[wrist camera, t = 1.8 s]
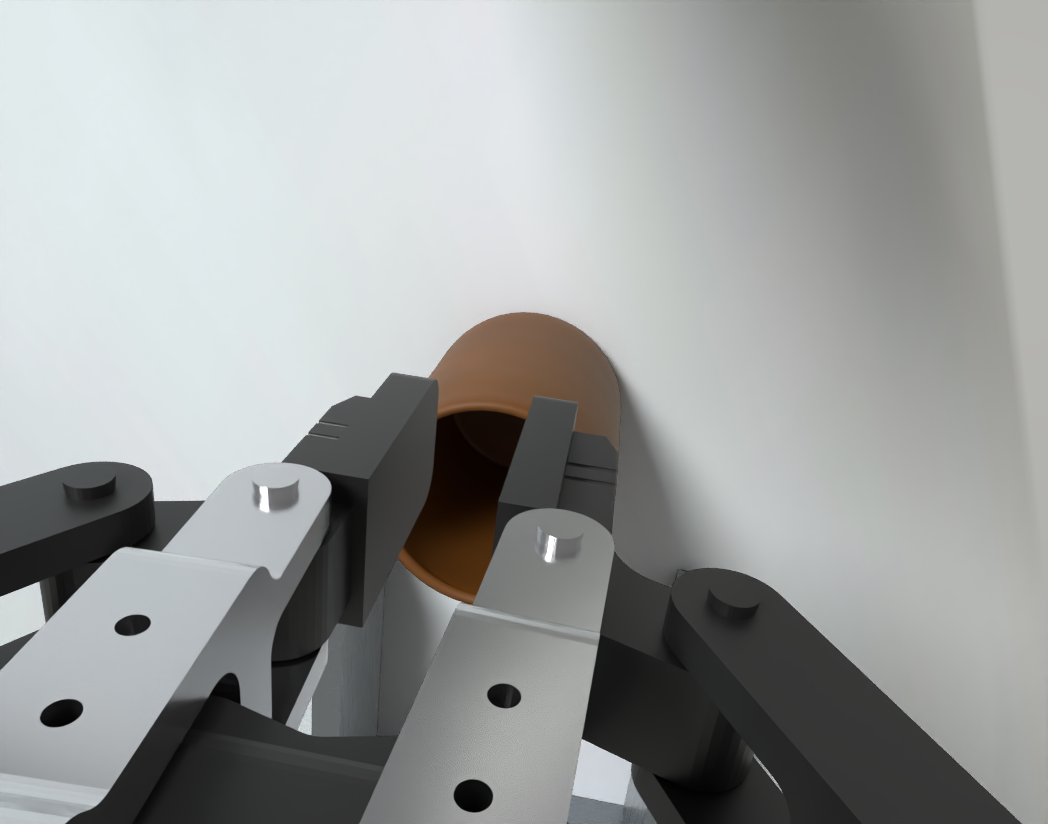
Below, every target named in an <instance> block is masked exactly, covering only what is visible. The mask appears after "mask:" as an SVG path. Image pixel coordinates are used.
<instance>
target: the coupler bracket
mask: <svg viewBox="0 0 1048 824" xmlns="http://www.w3.org/2000/svg"><path fill="white" fill-rule="evenodd" d="M686 572H689V571H683V570H678V572H677V576H676V579H677V578H678V577H679V576H681V575H682V574H684V573H686ZM384 592H385V584H384V586H383V588H382V590H381V592H380V594H379V596H378V598H377V600H376V602H375V604H374V606H373V608H372V610H371V612H370V614H369V616H368V618H367V620H366V622H365V624H364V626H363V628H360V627H355V626H350V625H344V624H339V623H337V624H336V626H335V628H334V630H333V632H332V634H331V635H330V637H329V638H328V660H327V663H326V666H325V669H324V671H323V673H322V675H321V678H320V680H319V682H318V684H317V687H316V689H315V691H314V693H313V696H312V736H319V737H346V736H377V723H378V705H379V686H380V667H381V649H382V630H383V611H384ZM567 822H568V823H569V824H657V823H656V821H655V819H654V818H653V816H652V814H651V813H650V811H649V810H648V808H647V806H646V805H645V803H644V802H643V800H642V798H641V797H640V795H639V793H638V792H637V790H636V788H635V786H634V783H633V780H632V774H631V777H630V782H629V786H628V790H627V795H626V799H625V804H624V806H622V805H617V804H612V803H607V802H602V801H597V800H592V799H587V798H582V797H577V796H571V802H570V808H569V813H568V819H567Z"/></svg>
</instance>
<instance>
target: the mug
mask: <svg viewBox="0 0 1048 824" xmlns="http://www.w3.org/2000/svg"><path fill="white" fill-rule="evenodd" d="M429 378H430V379H436V380H437V381H438V386H439V397H438V411H437V424H436V437H435V450H434V463H433V472H432V479H431V484H430V488H429V492H428V496H427V499H426V502H425V504H424V506H423V508H422V510H421V512H420V514H419V516H418V518H417V520H416V522H415V524H414V526H413V528H412V530H411V532H410V534H409V536H408V538H407V540H406V542H405V544H404V546H403V548H402V550H401V552H400V554H399V556H398V559H399V560H400V561H401V562H402V564H403V565H404V566H405V567H406V568H407V569H408V570H409V571H410V572H411V573H412V574H413V575H414V576H416V577H417V578H418V579H419V580H421V581H422V582H423V583H425V584H426V585H428V586H429V587H431V588H433V589H434V590H436V591H438V592H439V593H441V594H444V595H446V596H448V597H450V598H453V599H455V600H458V601H461V602H464V603H467V604H472V605H473V602H474V600H475V598H476V595H477V593H478V590H479V588H480V586H481V583H482V581H483V578H484V576H485V574H486V571H487V569H488V567H489V564H490V562H491V559H492V551H493V542H494V533H495V525H496V516H497V507H498V501H499V498H500V495H501V492H502V489H503V486H504V483H505V480H506V477H507V474H508V471H509V468H510V465H511V462H512V459H513V456H514V453H515V450H516V447H517V445H518V442H519V439H520V436H521V433H522V430H523V427H524V424H525V421H526V418H527V415H528V412H529V409H530V406H531V403H532V400H533V397H534V395H536V396H542V397H548V398H555V399H561V400H567V401H573V402H578V410H577V417H576V423H575V430H574V431H575V432H581V433H587V434H593V435H599V436H606V437H607V439H608V440H609V441H610V443H611V444H612V445H613V447H614V448H615V450H616V451H617V452H618V455H619V439H620V419H621V400H620V391H619V386H618V382H617V379H616V376H615V373H614V371H613V369H612V367H611V365H610V363H609V361H608V359H607V357H606V356H605V355H604V353H603V352H602V350H601V349H600V348H599V347H598V345H597V344H596V343H595V342H594V341H593V340H592V339H591V338H590V337H589V336H587V335H586V334H585V333H584V332H582V331H581V330H579V329H578V328H576V327H575V326H573V325H571V324H569V323H567V322H565V321H563V320H561V319H558V318H555V317H552V316H549V315H544V314H539V313H527V312H520V313H510V314H505V315H500V316H497V317H494V318H491V319H488V320H486V321H484V322H482V323H480V324H478V325H476V326H474V327H473V328H471V329H470V330H468V331H467V332H466V333H464V334H463V335H462V336H461V337H460V338H459V339H458V340H457V341H456V342H455V343H454V344H453V345H452V347H451V348H450V349H449V350H448V351H447V353H446V354H445V355H444V357H443V358H442V360H441V361H440V363H439V364H438V366H437V367H436V368H435V370H434V371H433V372H432V374H431V375H430V376H429ZM617 468H618V461H617ZM616 481H617V471H616ZM615 494H616V485H615ZM614 501H615V498H614Z"/></svg>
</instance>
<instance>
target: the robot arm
mask: <svg viewBox="0 0 1048 824" xmlns="http://www.w3.org/2000/svg"><path fill="white" fill-rule="evenodd" d="M438 397H439V386H438V381H437V380H436V379H430V378H424V377H418V376H411V375H405V374H399V373H391V374H390V375H389V377H388V378H387V379H386V380H385V382H384V383H383V384H382V385H381V386H380V388H379V389H378V390H377V391H376V393H375V394H374V395H373V396H372V398H367V397H361V396H354V397H352V398H349V399H347V400H345V401H343V402H340V403H338V404H336V405H334V406H332V407H331V408H330V409H329V410H328V411H327V412H326V413H325V415H324V416H323V417H322V418H321V419H320V420H319V424H318V423H316V425H315V426H314V427H313V428H312V429H311V430H310V431H309V434H308V435H306V436H305V437H304V438H303V439H302V440H301V441H300V442H299V443H298V445H297V446H296V447H295V448H294V449H293V450H292V451H291V452H290V453H289V455H288V456H287V457H286V458H285V459H284V460H283V461H282V462H281V463H265V464H258V465H253V466H249V467H246V468H243V469H240V470H238V471H236V472H234V473H232V474H231V475H229V476H228V477H226V478H225V479H224V480H223V481H222V482H221V484H220V485H219V486H218V487H217V488H216V489H215V490H214V492H213V493H212V494H211V495H210V496H209V497H208V499H207V500H206V501H154V495H153V483H152V479H151V477H150V475H149V474H148V473H147V472H145V471H144V470H142V469H140V468H138V467H136V466H133V465H129V464H125V463H118V462H89V463H81V464H76V465H71V466H67V467H63V468H60V469H57V470H53V471H50V472H47V473H43V474H40V475H37V476H33V477H30V478H27V479H23V480H20V481H16V482H13V483H10V484H6V485H3V486H0V597H1V596H3V595H6V594H8V593H11V592H13V591H16V590H19V589H21V588H24V587H26V586H29V585H31V584H34V583H37V582H40V589H41V595H42V602H43V608H44V615H45V621H46V624H45V625H44V626H43V627H42V628H41V629H40V630H37V631H35V632H33V633H30V634H28V635H26V636H23V637H21V638H19V639H16V640H14V641H12V642H9V643H7V644H5V645H2V646H0V824H569V823H568V822H567V819H568V813H569V808H570V802H571V796H572V791H573V785H574V779H575V774H576V768H577V762H578V756H579V751H580V745H581V739H583V740H586V741H588V742H590V743H592V744H594V745H596V746H598V747H600V748H602V749H604V750H606V751H608V752H610V753H612V754H614V755H617V756H619V757H621V758H623V759H625V760H627V761H629V762H631V763H632V766H631V774H632V780H633V783H634V786H635V788H636V790H637V792H638V793H639V795H640V797H641V798H642V800H643V802H644V803H645V805H646V806H647V808H648V810H649V811H650V813H651V814H652V816H653V818H654V819H655V821H656V823H657V824H1022V823H1021V822H1019V821H1018V820H1017V819H1016V818H1015V817H1014V816H1013V815H1012V814H1011V813H1010V812H1009V811H1008V810H1007V809H1006V808H1005V807H1004V806H1003V805H1001V804H1000V803H999V802H998V801H997V800H996V799H995V798H994V797H993V796H992V795H991V794H990V793H989V792H988V791H987V790H986V789H985V788H984V787H983V786H981V785H980V784H979V783H978V782H977V781H976V780H975V779H974V778H973V777H972V776H971V775H970V774H969V773H968V772H967V771H966V770H965V769H964V768H962V767H961V766H960V765H959V764H958V763H957V762H956V761H955V760H954V759H953V758H952V757H951V756H950V755H949V754H948V753H947V752H946V751H945V750H943V749H942V748H941V747H940V746H939V745H938V744H937V743H936V742H935V741H934V740H933V739H932V738H931V737H930V736H929V735H928V734H927V733H926V732H924V731H923V730H922V729H921V728H920V727H919V726H918V725H917V724H916V723H915V722H914V721H913V720H912V719H911V718H910V717H909V716H908V715H907V714H905V713H904V712H903V711H902V710H901V709H900V708H899V707H898V706H897V705H896V704H895V703H894V702H893V701H892V700H891V699H890V698H889V697H888V696H886V695H885V694H884V693H883V692H882V691H881V690H880V689H879V688H878V687H877V686H876V685H875V684H874V683H873V682H872V681H871V680H870V679H869V678H867V677H866V676H865V675H864V674H863V673H862V672H861V671H860V670H859V669H858V668H857V667H856V666H855V665H854V664H853V663H852V662H851V661H850V660H848V659H847V658H846V657H845V656H844V655H843V654H842V653H841V652H840V651H839V650H838V649H837V648H836V647H835V646H834V645H833V644H832V643H831V642H829V641H828V640H827V639H826V638H825V637H824V636H823V635H822V634H821V633H820V632H819V631H818V630H817V629H816V628H815V627H814V626H813V625H812V624H810V623H809V622H808V621H807V620H806V619H805V618H804V617H803V616H802V615H801V614H800V613H799V612H798V611H797V610H796V609H795V608H794V607H793V606H791V605H790V604H789V603H788V602H787V601H786V600H785V599H784V598H783V597H782V596H781V595H780V594H779V593H777V592H776V591H775V590H774V589H772V588H771V587H769V586H768V585H766V584H765V583H763V582H761V581H759V580H757V579H755V578H753V577H750V576H748V575H746V574H742V573H739V572H736V571H731V570H727V569H719V568H703V569H696V570H692V571H689V572H686V573H684V574H682V575H681V576H679V577H678V578H677V579H676V580H675V582H674V583H673V586H672V588H670V587H667V586H664V585H662V584H659V583H657V582H654V581H652V580H650V579H647V578H645V577H643V576H642V575H640V574H638V573H636V572H635V571H633V570H632V569H631V568H629V567H628V566H627V565H626V564H625V563H623V562H622V561H621V559H620V558H619V557H618V556H617V554H616V553H615V551H614V549H615V543H614V540H613V537H612V523H613V511H614V498H615V485H616V471H617V461H618V452H617V451H616V450H615V448H614V447H613V445H612V444H611V443H610V441H609V440H608V439H607V437H606V436H599V435H593V434H587V433H581V432H575V431H574V430H575V423H576V417H577V410H578V402H573V401H567V400H561V399H555V398H548V397H542V396H536V395H534V397H533V400H532V403H531V406H530V409H529V412H528V415H527V418H526V421H525V424H524V427H523V430H522V433H521V436H520V439H519V442H518V445H517V447H516V450H515V453H514V456H513V459H512V462H511V465H510V468H509V471H508V474H507V477H506V480H505V483H504V486H503V489H502V492H501V495H500V498H499V501H498V507H497V516H496V525H495V533H494V542H493V551H492V559H491V562H490V564H489V567H488V569H487V571H486V574H485V576H484V578H483V581H482V583H481V586H480V588H479V590H478V593H477V595H476V598H475V600H474V602H473V605H472V604H467V603H462V602H461V603H460V604H459V605H458V606H457V608H456V609H455V611H454V613H453V615H452V618H451V620H450V622H449V624H448V627H447V629H446V631H445V633H444V636H443V638H442V640H441V642H440V644H439V647H438V649H437V651H436V653H435V656H434V658H433V660H432V662H431V665H430V667H429V669H428V671H427V674H426V676H425V678H424V680H423V682H422V685H421V687H420V689H419V691H418V694H417V696H416V698H415V700H414V703H413V705H412V707H411V709H410V712H409V714H408V716H407V718H406V720H405V723H404V725H403V727H402V729H401V732H400V734H399V736H346V737H319V736H311V735H307V734H304V733H302V732H299V731H297V730H298V727H299V725H300V723H301V721H302V718H303V716H304V714H305V711H306V709H307V707H308V705H309V702H310V700H311V698H312V696H313V693H314V691H315V689H316V687H317V684H318V682H319V680H320V678H321V675H322V673H323V671H324V669H325V666H326V663H327V660H328V638H329V637H330V635H331V634H332V632H333V630H334V628H335V626H336V624H337V623H339V624H344V625H350V626H355V627H360V628H363V626H364V624H365V622H366V620H367V618H368V616H369V614H370V612H371V610H372V608H373V606H374V604H375V602H376V600H377V598H378V596H379V594H380V592H381V590H382V588H383V586H384V584H385V582H386V580H387V578H388V576H389V574H390V572H391V570H392V568H393V566H394V564H395V562H396V560H397V558H398V556H399V554H400V552H401V550H402V548H403V546H404V544H405V542H406V540H407V538H408V536H409V534H410V532H411V530H412V528H413V526H414V524H415V522H416V520H417V518H418V516H419V514H420V512H421V510H422V508H423V506H424V504H425V502H426V499H427V496H428V492H429V488H430V484H431V479H432V472H433V463H434V450H435V437H436V424H437V411H438ZM754 754H755V755H756V756H757V757H758V759H759V760H760V761H761V762H762V764H763V765H764V766H765V767H766V769H767V770H768V771H769V772H770V774H771V775H772V776H773V777H774V779H775V780H776V781H777V783H778V785H779V786H780V788H781V790H782V792H783V793H782V792H781V791H780V789H779V788H778V787H777V786H776V784H775V783H774V782H773V781H772V779H771V778H770V777H769V776H768V774H767V773H766V772H765V771H764V769H763V768H762V767H761V766H760V764H759V763H758V762H757V761H756V759H755V758H754V757H753V755H754Z"/></svg>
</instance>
